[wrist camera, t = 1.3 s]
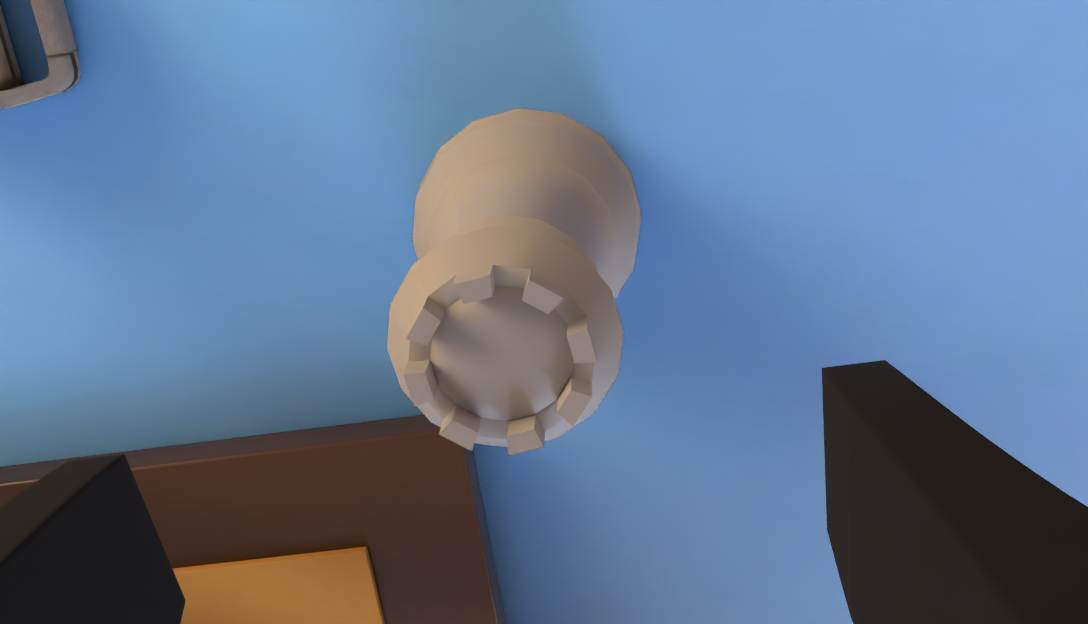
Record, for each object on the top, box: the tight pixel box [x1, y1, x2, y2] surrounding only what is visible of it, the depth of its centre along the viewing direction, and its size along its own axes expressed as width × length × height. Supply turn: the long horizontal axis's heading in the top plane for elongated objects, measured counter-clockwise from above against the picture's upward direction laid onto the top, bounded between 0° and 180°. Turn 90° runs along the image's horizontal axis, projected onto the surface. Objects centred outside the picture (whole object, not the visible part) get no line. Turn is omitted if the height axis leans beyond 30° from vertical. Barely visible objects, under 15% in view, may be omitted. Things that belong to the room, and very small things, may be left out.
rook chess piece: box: [387, 108, 642, 456], centre depth 17 cm, size 4×4×8 cm
